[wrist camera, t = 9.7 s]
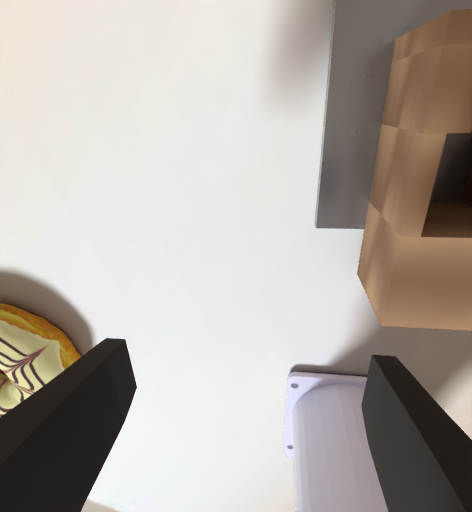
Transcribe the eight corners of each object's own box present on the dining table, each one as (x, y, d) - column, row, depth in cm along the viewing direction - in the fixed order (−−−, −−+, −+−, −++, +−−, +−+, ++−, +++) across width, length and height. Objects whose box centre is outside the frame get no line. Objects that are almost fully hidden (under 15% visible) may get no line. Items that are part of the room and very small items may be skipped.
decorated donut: (91, 404, 27) (65, 446, 24) (-25, 378, 28) (-67, 416, 24) (83, 310, 22) (49, 347, 19) (-57, 280, 23) (-115, 311, 19)
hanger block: (452, 276, 17) (507, 332, 13) (357, 273, 18) (381, 325, 13) (531, 31, 12) (660, -4, 8) (395, 39, 13) (450, 10, 9)
